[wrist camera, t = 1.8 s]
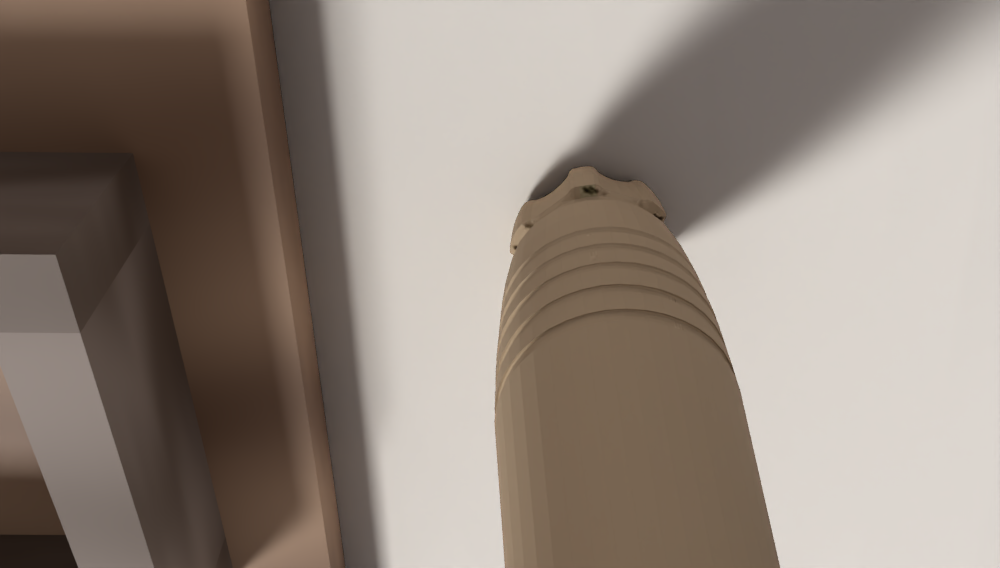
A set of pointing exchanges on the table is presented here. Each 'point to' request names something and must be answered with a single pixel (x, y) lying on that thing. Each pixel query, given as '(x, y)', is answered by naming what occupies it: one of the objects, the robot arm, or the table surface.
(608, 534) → the handle
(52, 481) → the holder
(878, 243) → the table surface
